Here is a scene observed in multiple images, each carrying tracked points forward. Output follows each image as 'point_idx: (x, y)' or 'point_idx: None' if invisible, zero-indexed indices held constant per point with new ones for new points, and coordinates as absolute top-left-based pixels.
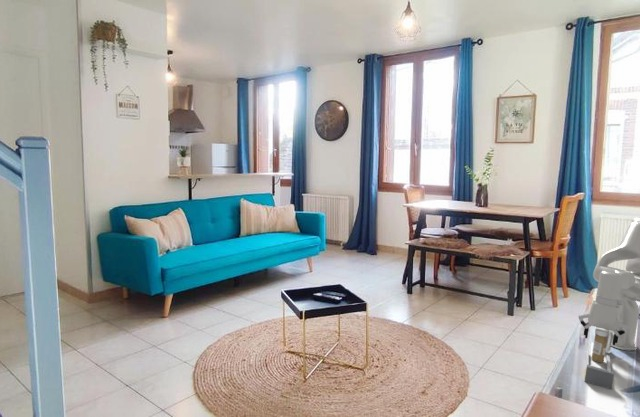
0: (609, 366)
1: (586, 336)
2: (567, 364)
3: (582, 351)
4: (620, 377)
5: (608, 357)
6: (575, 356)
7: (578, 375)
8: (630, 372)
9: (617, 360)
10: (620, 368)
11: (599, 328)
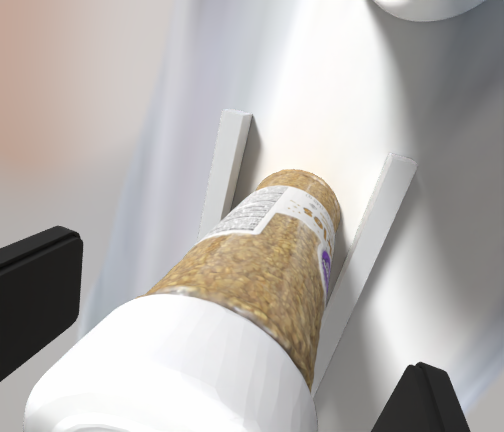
0: (323, 356)
1: (48, 333)
2: (105, 317)
3: (216, 76)
4: (364, 410)
5: (386, 205)
6: (153, 199)
7: None
8: (489, 344)
9: (496, 152)
10: (434, 300)
11: (86, 430)
